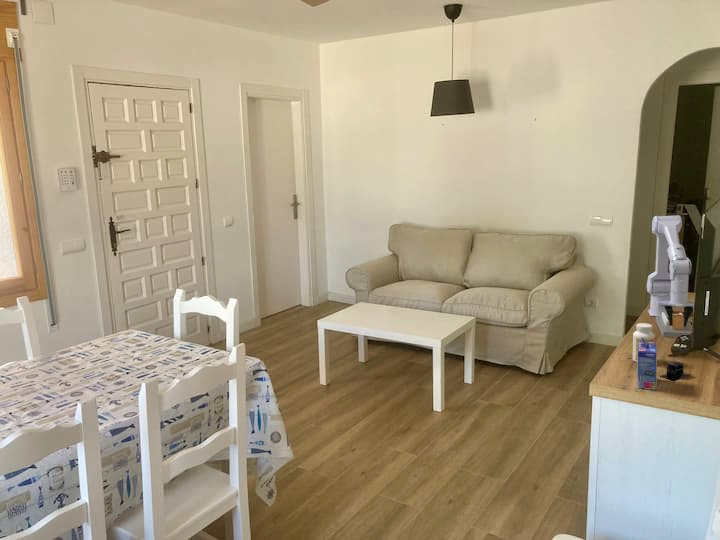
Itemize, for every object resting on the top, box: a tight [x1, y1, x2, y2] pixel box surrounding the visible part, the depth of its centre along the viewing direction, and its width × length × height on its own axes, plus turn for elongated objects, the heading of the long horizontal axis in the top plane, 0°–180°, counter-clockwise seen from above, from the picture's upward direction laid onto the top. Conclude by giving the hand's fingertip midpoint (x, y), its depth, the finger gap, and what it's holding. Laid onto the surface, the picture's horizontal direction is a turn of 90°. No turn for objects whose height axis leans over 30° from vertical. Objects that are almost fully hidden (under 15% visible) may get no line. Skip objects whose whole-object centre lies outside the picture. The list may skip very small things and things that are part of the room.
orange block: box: [671, 313, 684, 330], centre depth 220 cm, size 4×4×5 cm
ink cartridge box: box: [636, 338, 658, 391], centre depth 176 cm, size 10×6×14 cm, turn 155°
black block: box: [659, 361, 693, 382], centre depth 181 cm, size 12×7×5 cm, turn 118°
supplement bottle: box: [632, 322, 656, 363], centre depth 194 cm, size 7×7×13 cm
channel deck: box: [655, 312, 693, 338], centre depth 225 cm, size 22×11×4 cm, turn 160°
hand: (677, 325), depth 219 cm, fingers closed on orange block, 4 cm apart
